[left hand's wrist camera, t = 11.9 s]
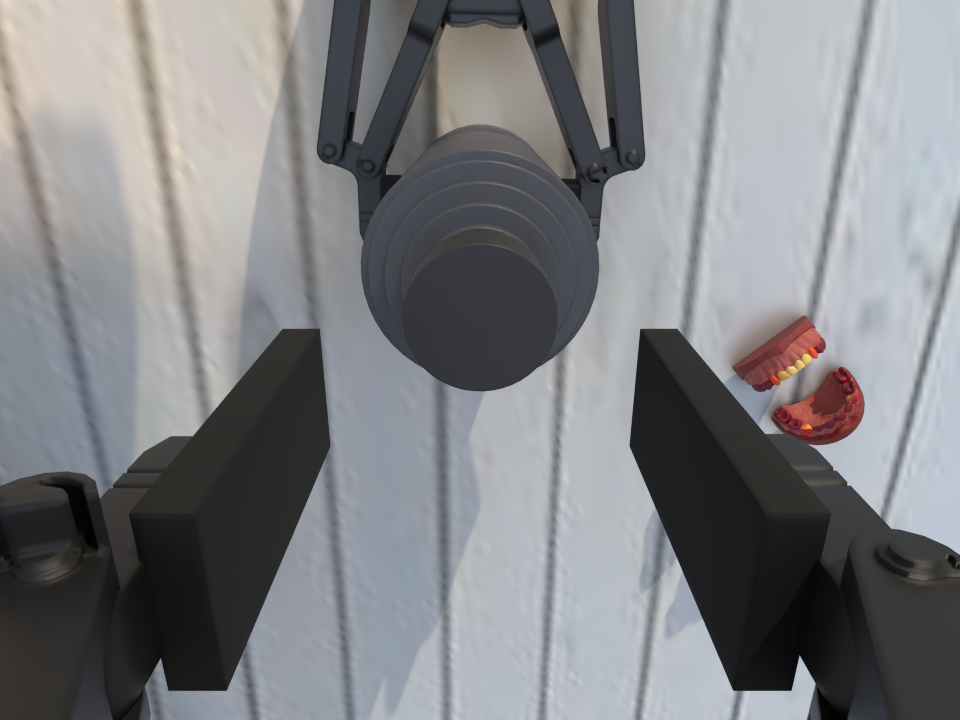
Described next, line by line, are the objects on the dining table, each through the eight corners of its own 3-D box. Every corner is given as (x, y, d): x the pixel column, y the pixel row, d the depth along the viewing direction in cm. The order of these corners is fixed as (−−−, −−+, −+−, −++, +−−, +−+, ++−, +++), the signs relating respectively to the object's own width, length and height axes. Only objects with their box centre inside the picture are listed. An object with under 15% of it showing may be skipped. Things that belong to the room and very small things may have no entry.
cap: (551, 362, 21) (558, 388, 19) (415, 368, 21) (409, 394, 19) (550, 226, 20) (558, 239, 18) (403, 232, 20) (395, 247, 18)
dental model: (825, 322, 38) (892, 418, 41) (795, 298, 42) (858, 387, 45) (740, 379, 40) (809, 468, 42) (718, 351, 44) (783, 435, 46)
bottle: (550, 263, 42) (623, 441, 20) (416, 269, 42) (350, 451, 21) (549, 121, 39) (634, 156, 17) (404, 128, 39) (313, 170, 17)
